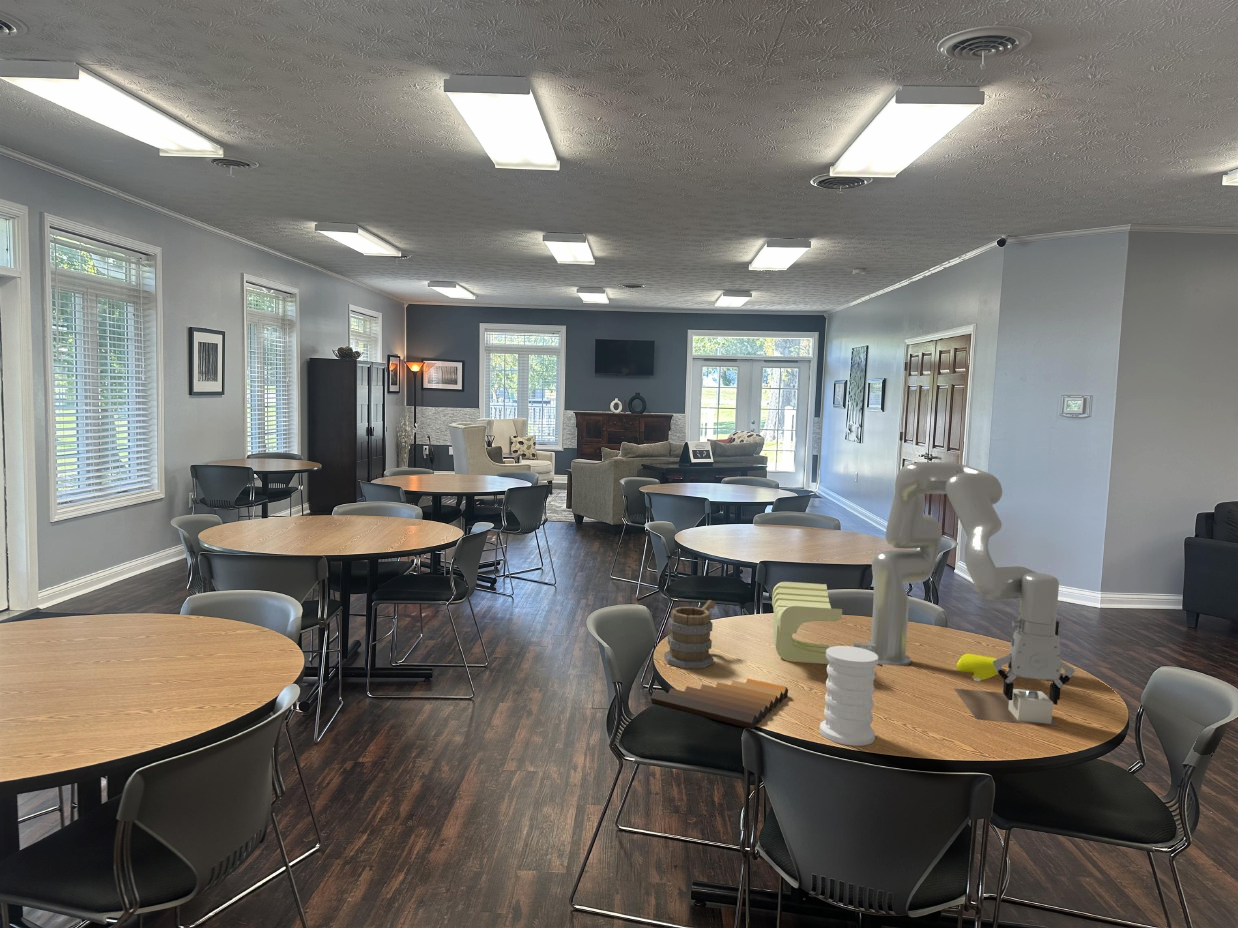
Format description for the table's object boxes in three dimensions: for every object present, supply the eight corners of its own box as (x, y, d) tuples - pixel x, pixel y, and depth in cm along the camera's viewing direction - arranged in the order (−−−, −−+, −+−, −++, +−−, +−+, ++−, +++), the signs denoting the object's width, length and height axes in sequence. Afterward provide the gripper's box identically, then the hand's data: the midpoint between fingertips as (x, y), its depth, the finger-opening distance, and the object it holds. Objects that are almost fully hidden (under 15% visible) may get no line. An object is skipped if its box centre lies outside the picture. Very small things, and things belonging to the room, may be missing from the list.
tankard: (696, 672, 207) (698, 616, 206) (656, 661, 214) (659, 607, 213) (733, 654, 223) (735, 603, 222) (695, 645, 230) (697, 595, 229)
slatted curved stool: (770, 637, 241) (773, 580, 240) (823, 641, 239) (826, 584, 238) (777, 669, 211) (781, 604, 210) (838, 674, 209) (842, 609, 208)
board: (975, 725, 178) (976, 718, 178) (953, 694, 198) (953, 688, 198) (1060, 733, 175) (1061, 727, 175) (1029, 701, 195) (1029, 695, 195)
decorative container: (837, 719, 178) (842, 642, 177) (884, 736, 170) (890, 655, 169) (809, 732, 170) (813, 651, 169) (857, 750, 162) (862, 665, 161)
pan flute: (650, 706, 183) (751, 732, 171) (650, 692, 183) (752, 716, 170) (695, 677, 205) (787, 698, 192) (695, 664, 204) (788, 684, 192)
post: (1025, 717, 180) (1027, 692, 179) (1022, 713, 182) (1024, 688, 182) (1036, 718, 180) (1038, 693, 179) (1033, 714, 182) (1035, 689, 181)
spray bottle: (1001, 669, 221) (994, 696, 199) (959, 661, 226) (948, 687, 205) (1002, 658, 220) (995, 685, 199) (960, 651, 226) (949, 676, 205)
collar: (1018, 720, 178) (1019, 699, 178) (1008, 708, 185) (1009, 688, 185) (1051, 723, 177) (1053, 702, 177) (1040, 712, 184) (1041, 691, 183)
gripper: (1001, 628, 177) (996, 702, 178) (1084, 635, 174) (1077, 710, 176) (991, 620, 184) (986, 690, 186) (1070, 626, 182) (1064, 698, 183)
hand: (1030, 700), depth 181 cm, fingers open, 9 cm apart
